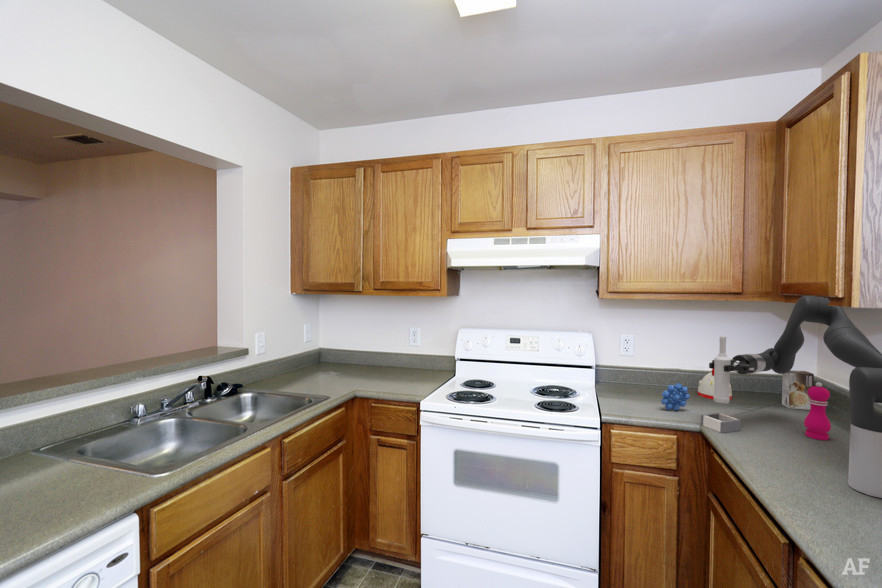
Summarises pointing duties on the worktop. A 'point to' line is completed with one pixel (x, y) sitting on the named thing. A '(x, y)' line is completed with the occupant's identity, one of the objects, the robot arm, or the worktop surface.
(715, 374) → the bottle
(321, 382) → the worktop surface
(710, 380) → the kitchen timer
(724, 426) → the socket collar
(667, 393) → the blue bumpy cluster
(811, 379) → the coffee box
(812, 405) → the pepper mill
